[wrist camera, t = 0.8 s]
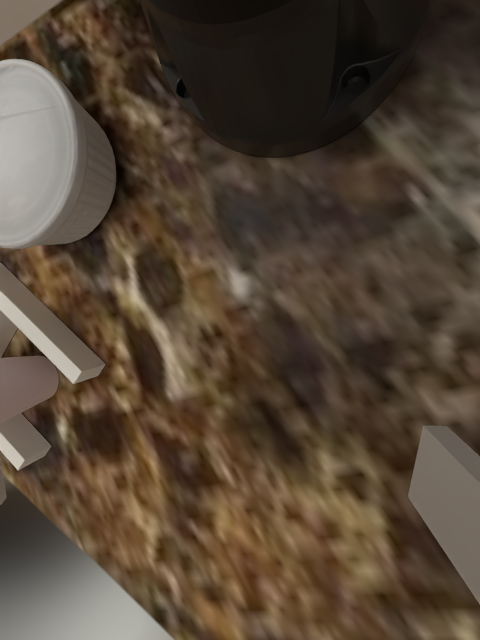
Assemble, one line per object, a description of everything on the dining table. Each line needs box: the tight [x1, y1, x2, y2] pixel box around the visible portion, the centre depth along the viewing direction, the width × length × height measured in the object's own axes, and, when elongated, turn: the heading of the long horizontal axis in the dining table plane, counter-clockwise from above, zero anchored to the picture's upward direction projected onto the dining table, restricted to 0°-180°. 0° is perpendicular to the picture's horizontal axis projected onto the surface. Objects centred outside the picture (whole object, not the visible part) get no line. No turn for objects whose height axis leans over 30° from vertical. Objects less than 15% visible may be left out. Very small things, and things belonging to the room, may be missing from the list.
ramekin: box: [0, 59, 116, 249], centre depth 24 cm, size 11×11×5 cm
